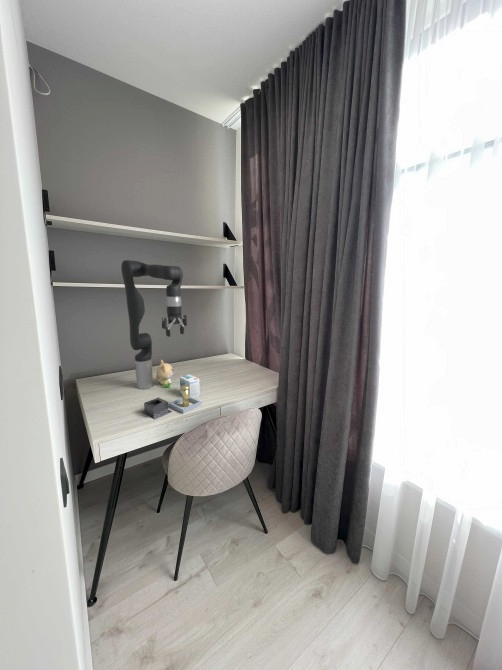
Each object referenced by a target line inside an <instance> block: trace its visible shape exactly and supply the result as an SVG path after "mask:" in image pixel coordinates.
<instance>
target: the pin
mask: <svg viewBox="0 0 502 670" xmlns="http://www.w3.org/2000/svg"><path fill="white" fill-rule="evenodd" d="M181 389H182V395H181V396H182V397H181V398H182V399H183V402H182V408H186V407H189V406H190V401H189V390H188V389H189V385H182V386H181Z"/></svg>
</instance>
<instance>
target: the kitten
mask: <svg viewBox="0 0 502 670" xmlns="http://www.w3.org/2000/svg"><path fill="white" fill-rule="evenodd" d="M173 375H174V368H173V366H172V365H171V364H170V363H167V362H164V360H163V359H160V364H159V365H158V366H157V369H156V376H155V378H156V379H157V380H158V382H159V383H160V385H162V386H163V387H164V389H170V388H171V387H170V385H171V384H172V380H171V378H172V377H173Z"/></svg>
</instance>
